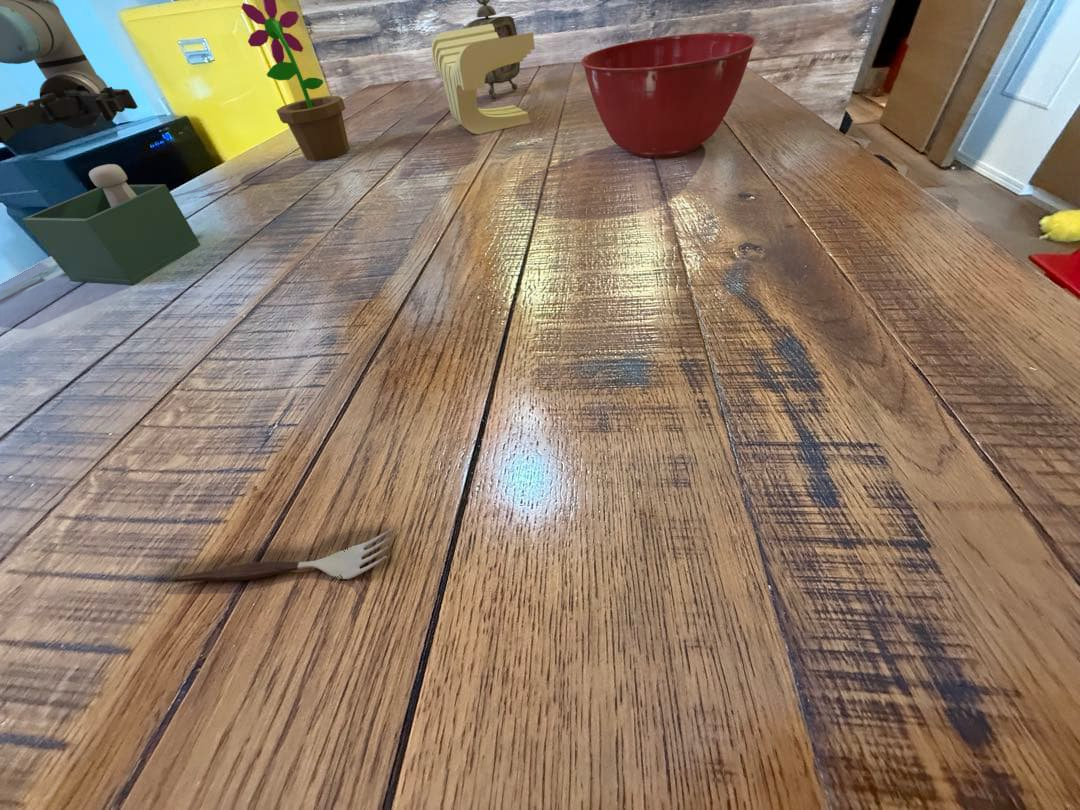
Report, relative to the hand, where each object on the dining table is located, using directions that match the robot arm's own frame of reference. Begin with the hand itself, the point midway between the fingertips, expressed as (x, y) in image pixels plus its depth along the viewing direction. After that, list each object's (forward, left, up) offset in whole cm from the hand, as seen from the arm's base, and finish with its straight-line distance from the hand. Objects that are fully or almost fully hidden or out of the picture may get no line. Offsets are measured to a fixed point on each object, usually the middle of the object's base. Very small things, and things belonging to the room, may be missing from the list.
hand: (50, 121), depth 72 cm
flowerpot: (+3, +50, -20) cm, 54 cm away
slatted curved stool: (+37, +69, -20) cm, 81 cm away
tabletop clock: (+27, +100, -20) cm, 106 cm away
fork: (+66, -45, -20) cm, 82 cm away
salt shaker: (+6, -1, -19) cm, 20 cm away
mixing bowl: (+80, +48, -20) cm, 96 cm away
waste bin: (+4, -4, -20) cm, 20 cm away
